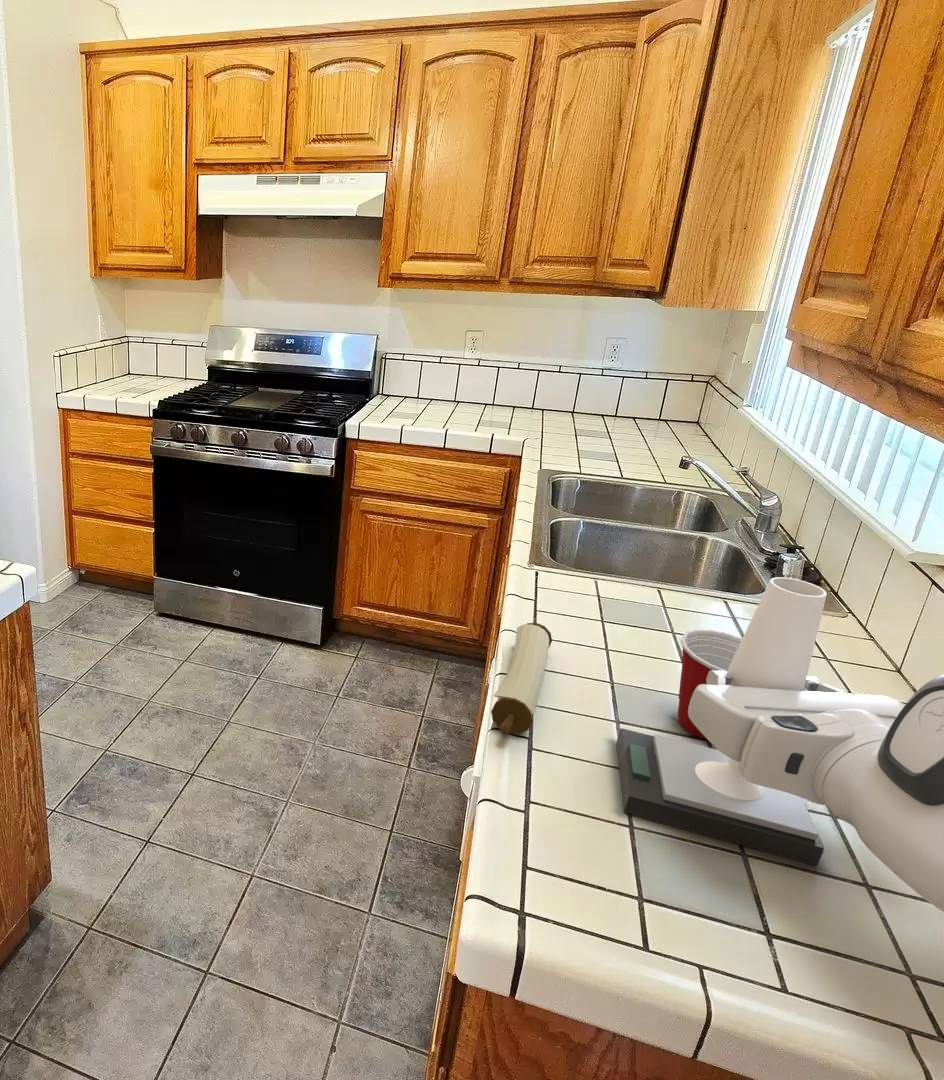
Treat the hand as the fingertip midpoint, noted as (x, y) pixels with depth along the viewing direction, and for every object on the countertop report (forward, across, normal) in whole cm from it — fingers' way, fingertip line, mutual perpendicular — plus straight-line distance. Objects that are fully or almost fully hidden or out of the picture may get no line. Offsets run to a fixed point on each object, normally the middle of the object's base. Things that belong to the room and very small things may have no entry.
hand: (758, 678), depth 81 cm
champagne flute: (-1, 0, +13) cm, 13 cm away
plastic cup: (+14, -6, +16) cm, 22 cm away
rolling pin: (+21, +16, +16) cm, 31 cm away
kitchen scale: (0, +2, +16) cm, 16 cm away
